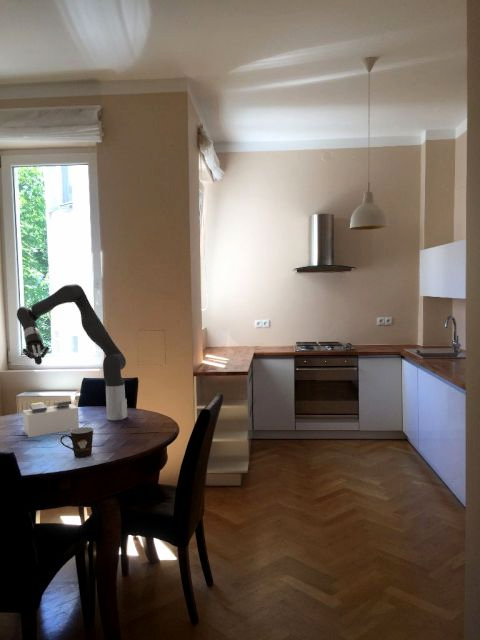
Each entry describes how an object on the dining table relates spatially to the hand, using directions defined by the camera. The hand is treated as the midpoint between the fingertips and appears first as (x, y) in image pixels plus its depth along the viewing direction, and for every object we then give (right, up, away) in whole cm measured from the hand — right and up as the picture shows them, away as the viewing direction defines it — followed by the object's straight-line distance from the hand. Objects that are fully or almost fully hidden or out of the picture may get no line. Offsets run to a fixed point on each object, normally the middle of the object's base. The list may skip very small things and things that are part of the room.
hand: (39, 363), depth 235 cm
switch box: (+11, -30, -12) cm, 34 cm away
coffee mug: (+37, -32, -49) cm, 69 cm away
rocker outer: (+6, -19, -16) cm, 25 cm away
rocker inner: (+15, -18, -9) cm, 25 cm away
